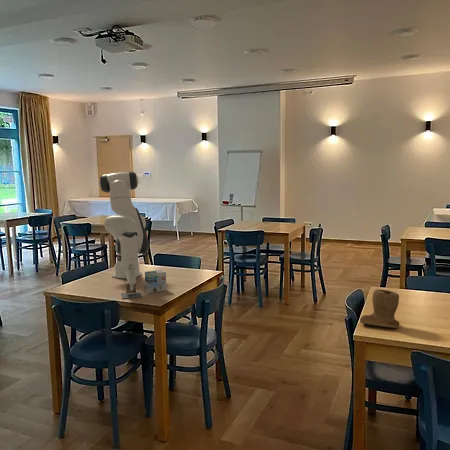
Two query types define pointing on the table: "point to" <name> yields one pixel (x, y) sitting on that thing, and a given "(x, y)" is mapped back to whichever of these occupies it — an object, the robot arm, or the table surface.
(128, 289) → the lettered cube
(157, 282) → the light bulb box
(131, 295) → the slate mat
